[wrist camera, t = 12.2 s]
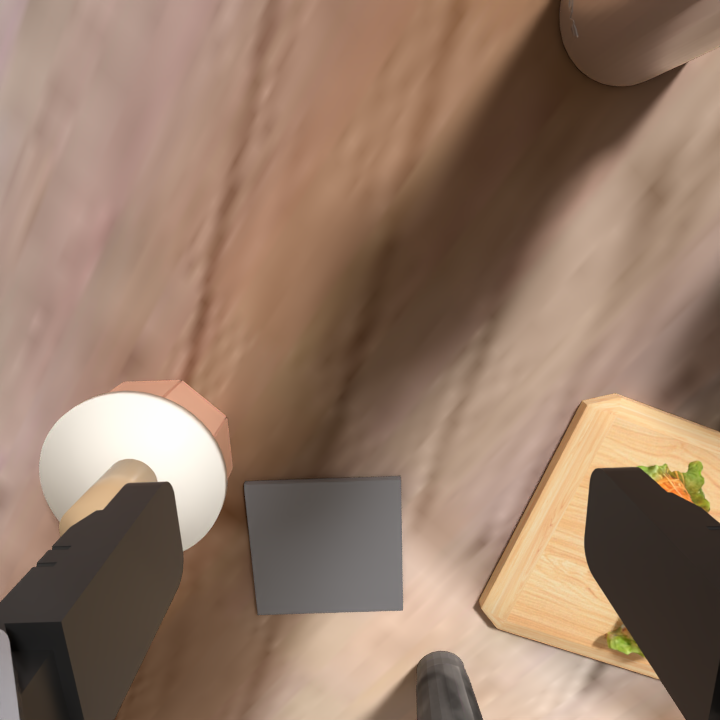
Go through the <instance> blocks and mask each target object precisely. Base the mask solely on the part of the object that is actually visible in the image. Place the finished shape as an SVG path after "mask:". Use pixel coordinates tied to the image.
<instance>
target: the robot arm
mask: <svg viewBox="0 0 720 720" xmlns="http://www.w3.org/2000/svg"><path fill="white" fill-rule="evenodd" d="M559 16H560V31H561V35H562V40H563V44H564V46H565V48H566V50H567V53H568V55H569V57H570V58H571V60H572V61H573V62H574V64H575V65H576V66H577V68H578V69H579V70H580V71H582V72H583V73H584V74H585V75H587V76H588V77H589V78H591V79H593V80H595V81H597V82H599V83H602V84H606V85H611V86H631V85H635V84H638V83H642V82H645V81H647V80H649V79H652V78H654V77H656V76H658V75H660V74H662V73H664V72H667V71H669V70H671V69H673V68H675V67H677V66H680V65H682V64H684V63H686V62H689V61H691V60H693V59H695V58H697V57H699V56H701V55H704V54H706V53H708V52H710V51H712V50H714V49H716V48H719V47H720V0H561V4H560V11H559ZM584 550H585V556H586V561H587V564H588V567H589V570H590V572H591V574H592V576H593V577H594V579H595V581H596V582H597V584H598V585H599V587H600V588H601V590H602V591H603V593H604V594H605V596H606V597H607V599H608V601H609V602H610V604H611V605H612V607H613V608H614V610H615V611H616V613H617V614H618V616H619V617H620V619H621V621H622V622H623V624H624V625H625V627H626V628H627V630H628V631H629V633H630V634H631V636H632V637H633V639H634V641H635V642H636V644H637V645H638V647H639V648H640V650H641V651H642V653H643V654H644V656H645V658H646V659H647V661H648V662H649V664H650V665H651V667H652V668H653V670H654V671H655V673H656V674H657V676H658V678H659V679H660V681H661V682H662V684H663V685H664V687H665V688H666V690H667V691H668V693H669V694H670V696H671V698H672V699H673V701H674V702H675V704H676V705H677V707H678V708H679V710H680V711H681V713H682V714H683V716H684V718H685V719H686V720H720V523H719V522H718V521H717V520H716V519H714V518H713V517H712V516H711V515H710V514H708V513H707V512H706V511H705V510H704V509H703V508H701V507H700V506H698V505H696V504H694V503H692V502H690V501H688V500H686V499H684V498H682V497H680V496H678V495H676V494H674V493H672V492H667V491H666V490H665V489H663V488H662V487H661V486H660V485H659V484H658V483H657V482H656V481H655V480H653V479H652V478H651V477H650V476H649V475H648V474H647V473H646V472H644V471H643V470H642V469H641V468H639V467H615V468H596V469H595V470H593V472H592V474H591V477H590V483H589V493H588V504H587V514H586V525H585V535H584ZM182 572H183V547H182V541H181V534H180V527H179V521H178V514H177V507H176V500H175V494H174V490H173V487H172V485H171V484H170V483H169V482H167V481H166V482H136V483H127V484H125V485H124V486H123V487H122V488H121V490H120V491H119V492H118V493H117V494H116V495H115V496H114V498H113V499H112V500H111V501H110V502H109V503H108V505H107V506H106V507H105V508H104V509H103V510H96V511H94V512H93V513H91V514H90V515H88V516H87V517H85V518H83V519H82V520H80V521H79V522H77V523H76V524H74V525H72V526H71V527H70V528H69V529H68V530H67V531H66V532H65V533H64V534H63V535H62V536H61V537H60V538H59V540H58V541H57V542H56V543H55V544H54V545H53V546H52V550H48V551H47V552H46V554H45V555H44V556H43V557H42V558H41V559H40V560H39V561H38V562H37V566H36V567H33V568H32V569H31V570H30V571H29V572H28V573H27V574H26V575H25V576H24V577H23V578H22V579H21V581H20V582H19V583H18V584H17V585H16V586H15V587H14V588H13V589H12V590H11V591H10V592H9V593H8V595H7V596H6V597H5V598H4V599H3V600H2V601H1V602H0V720H114V719H115V717H116V715H117V713H118V711H119V709H120V707H121V705H122V703H123V700H124V698H125V696H126V694H127V692H128V690H129V688H130V686H131V684H132V682H133V680H134V678H135V676H136V674H137V672H138V670H139V668H140V665H141V663H142V661H143V659H144V657H145V655H146V653H147V651H148V649H149V647H150V645H151V643H152V641H153V639H154V637H155V635H156V632H157V630H158V628H159V626H160V624H161V622H162V620H163V618H164V616H165V614H166V612H167V610H168V608H169V606H170V604H171V602H172V600H173V597H174V595H175V593H176V591H177V589H178V587H179V584H180V581H181V577H182Z"/></svg>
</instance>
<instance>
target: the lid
mask: <svg viewBox="0 0 720 720" xmlns="http://www.w3.org/2000/svg"><path fill="white" fill-rule="evenodd" d="M39 475H40V482H41V487H42V490H43V493H44V496H45V498H46V501H47V503H48V505H49V507H50V509H51V510H52V512H53V513H54V515H55V516H56V518H57V519H58V520H59V522H60V523H59V533H60V536H62V535H63V534H64V533H65V532H66V531H67V530H68V529H69V528H70V527H71V526H72V525H74V524H76V523H77V522H79V521H80V520H82V519H83V518H85V517H87V516H88V515H90V514H91V513H93V512H94V511H96V510H103V509H104V508H105V507H106V506H107V505H108V503H109V502H110V501H111V500H112V499H113V498H114V496H115V495H116V494H117V493H118V492H119V491H120V490H121V488H122V487H123V486H124V485H125V484H127V483H136V482H166V481H167V482H169V483H170V484H171V485H172V487H173V490H174V494H175V500H176V507H177V514H178V521H179V527H180V534H181V541H182V547H183V551H185V550H187V549H189V548H190V547H192V546H193V545H195V544H196V543H197V542H198V541H200V540H201V539H202V538H203V537H204V536H205V535H206V534H207V533H208V531H209V530H210V529H211V528H212V526H213V524H214V523H215V521H216V520H217V517H218V515H219V513H220V511H221V509H222V506H223V504H224V501H225V497H226V493H227V484H228V480H227V469H226V463H225V460H224V457H223V454H222V451H221V449H220V447H219V445H218V443H217V441H216V439H215V438H214V436H213V435H212V433H211V432H210V431H209V429H208V428H207V427H206V426H205V425H204V424H203V422H202V421H200V420H199V419H198V418H197V417H196V416H195V415H194V414H193V413H191V412H190V411H188V410H187V409H186V408H184V407H183V406H181V405H179V404H177V403H175V402H174V401H171V400H169V399H167V398H164V397H162V396H158V395H155V394H151V393H147V392H140V391H114V392H109V393H104V394H100V395H97V396H95V397H92V398H89V399H88V400H86V401H84V402H82V403H80V404H79V405H77V406H76V407H74V408H73V409H71V410H70V411H69V412H67V413H66V414H65V415H63V416H62V417H61V418H60V419H59V420H58V421H57V422H56V423H55V425H54V426H53V428H52V429H51V430H50V432H49V433H48V435H47V437H46V439H45V441H44V444H43V447H42V450H41V455H40V462H39Z"/></svg>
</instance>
